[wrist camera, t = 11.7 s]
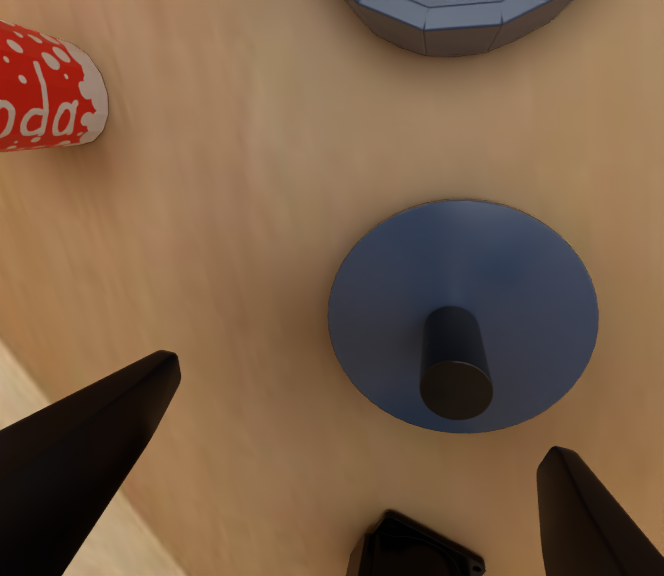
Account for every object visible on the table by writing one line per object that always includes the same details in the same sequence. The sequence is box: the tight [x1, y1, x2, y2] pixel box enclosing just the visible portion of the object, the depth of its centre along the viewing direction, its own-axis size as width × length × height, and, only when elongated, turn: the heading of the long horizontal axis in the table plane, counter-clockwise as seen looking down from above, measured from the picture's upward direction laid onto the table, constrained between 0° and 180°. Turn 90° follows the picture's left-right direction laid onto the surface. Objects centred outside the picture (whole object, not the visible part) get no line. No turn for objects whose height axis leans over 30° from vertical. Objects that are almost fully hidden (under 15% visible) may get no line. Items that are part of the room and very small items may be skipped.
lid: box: [328, 199, 599, 433], centre depth 15 cm, size 11×11×6 cm
